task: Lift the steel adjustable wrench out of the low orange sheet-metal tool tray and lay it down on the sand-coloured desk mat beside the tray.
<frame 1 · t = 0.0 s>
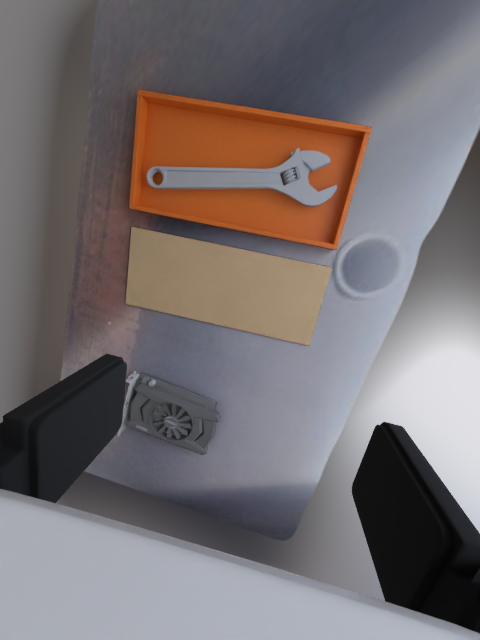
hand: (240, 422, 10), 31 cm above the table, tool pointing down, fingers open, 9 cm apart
tool tray: (241, 175, 36), on the table
adjustable wrench: (241, 175, 36), resting on tool tray
graphics card: (171, 414, 48), on the table
desk mat: (221, 286, 40), on the table
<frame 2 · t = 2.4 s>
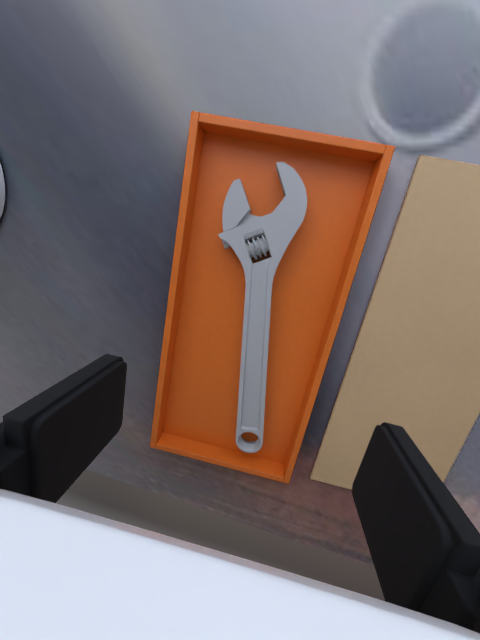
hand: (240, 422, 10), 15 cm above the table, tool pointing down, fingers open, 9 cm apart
tool tray: (249, 320, 24), on the table
adjustable wrench: (249, 320, 24), resting on tool tray
desk mat: (423, 359, 23), on the table
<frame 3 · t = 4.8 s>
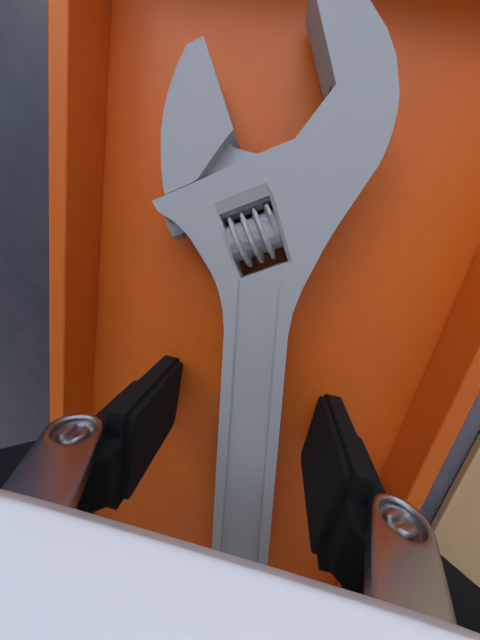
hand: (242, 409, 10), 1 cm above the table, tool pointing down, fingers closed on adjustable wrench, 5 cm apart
tool tray: (240, 394, 11), on the table
adjustable wrench: (237, 395, 11), resting on tool tray, touching gripper
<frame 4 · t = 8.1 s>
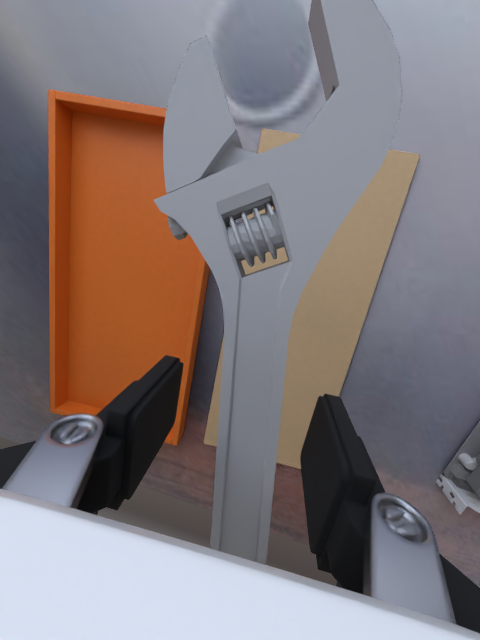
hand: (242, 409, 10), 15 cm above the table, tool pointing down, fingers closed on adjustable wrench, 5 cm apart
tool tray: (133, 290, 26), on the table
adjustable wrench: (236, 395, 11), point 14 cm above the table, touching gripper
desk mat: (291, 325, 24), on the table
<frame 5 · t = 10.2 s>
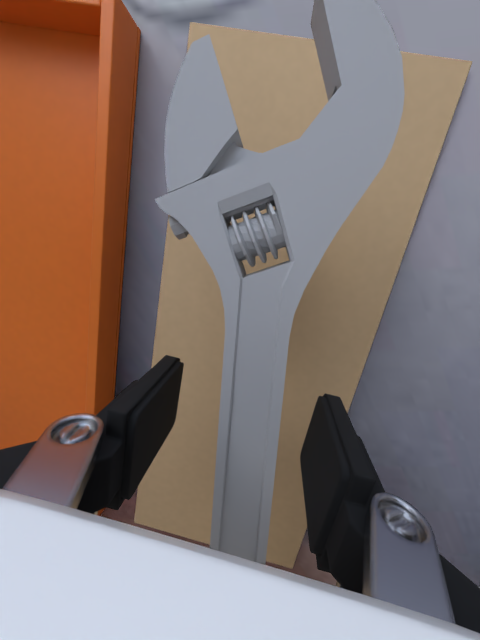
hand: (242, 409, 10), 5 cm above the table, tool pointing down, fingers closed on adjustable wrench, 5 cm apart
tool tray: (14, 301, 17), on the table
adjustable wrench: (236, 395, 11), point 4 cm above the table, touching gripper
desk mat: (253, 358, 16), on the table
when the fingers open (1 cm above the table, at t = 11.7 s): adjustable wrench stays where it is, resting on desk mat.
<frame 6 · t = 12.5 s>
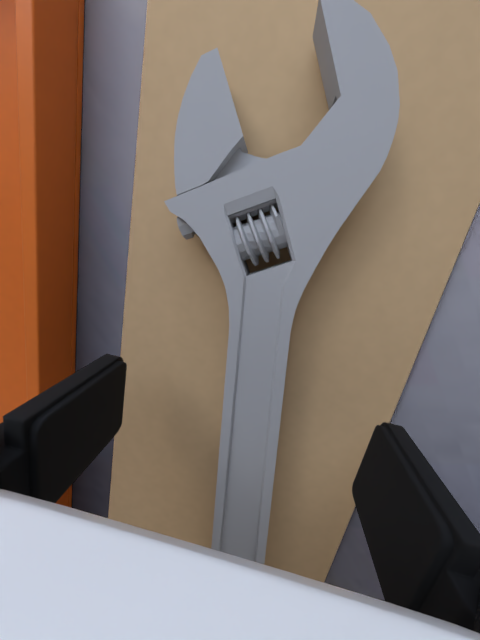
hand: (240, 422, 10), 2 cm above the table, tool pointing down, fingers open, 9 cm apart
adjustable wrench: (239, 389, 12), resting on desk mat
desk mat: (248, 391, 12), on the table
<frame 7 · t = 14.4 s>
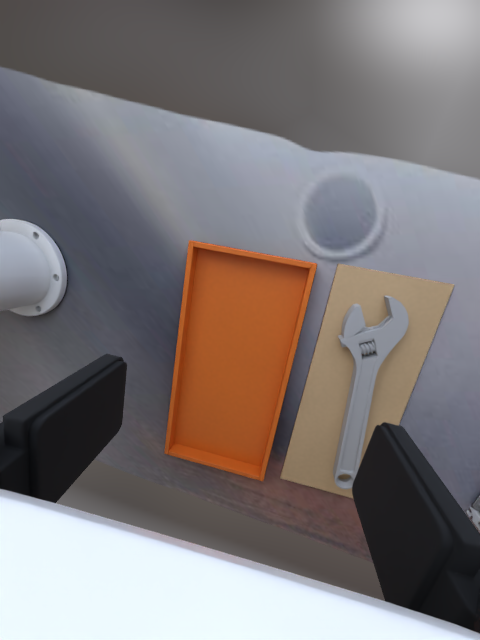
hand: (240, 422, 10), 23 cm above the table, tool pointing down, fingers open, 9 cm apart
tool tray: (232, 365, 34), on the table
adjustable wrench: (351, 393, 33), resting on desk mat
desk mat: (354, 394, 33), on the table
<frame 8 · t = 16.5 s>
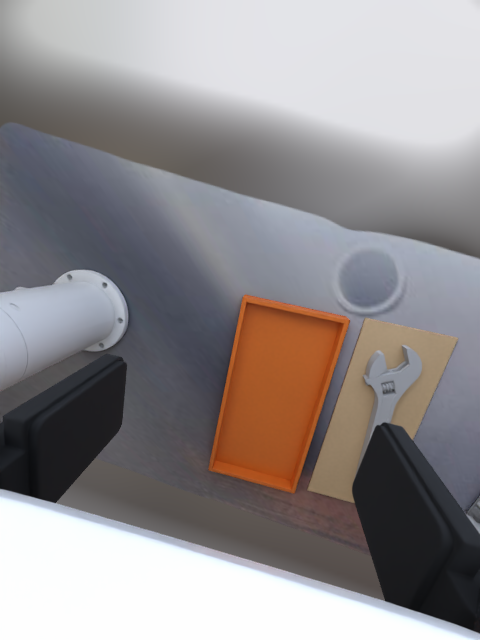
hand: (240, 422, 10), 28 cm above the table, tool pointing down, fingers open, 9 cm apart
tool tray: (271, 396, 41), on the table
adjustable wrench: (371, 421, 39), resting on desk mat
desk mat: (373, 421, 39), on the table
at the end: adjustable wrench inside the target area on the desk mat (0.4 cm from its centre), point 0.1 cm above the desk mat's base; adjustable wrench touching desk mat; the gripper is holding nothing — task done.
